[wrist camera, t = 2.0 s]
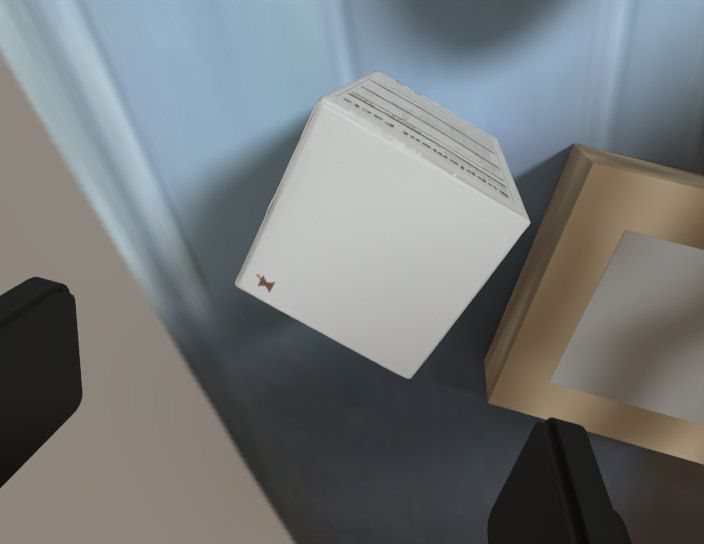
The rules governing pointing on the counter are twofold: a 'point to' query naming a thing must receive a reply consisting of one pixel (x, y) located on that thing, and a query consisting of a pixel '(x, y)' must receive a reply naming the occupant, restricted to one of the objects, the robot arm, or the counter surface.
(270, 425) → the counter surface
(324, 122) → the supplement box
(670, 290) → the oak plinth
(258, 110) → the counter surface
